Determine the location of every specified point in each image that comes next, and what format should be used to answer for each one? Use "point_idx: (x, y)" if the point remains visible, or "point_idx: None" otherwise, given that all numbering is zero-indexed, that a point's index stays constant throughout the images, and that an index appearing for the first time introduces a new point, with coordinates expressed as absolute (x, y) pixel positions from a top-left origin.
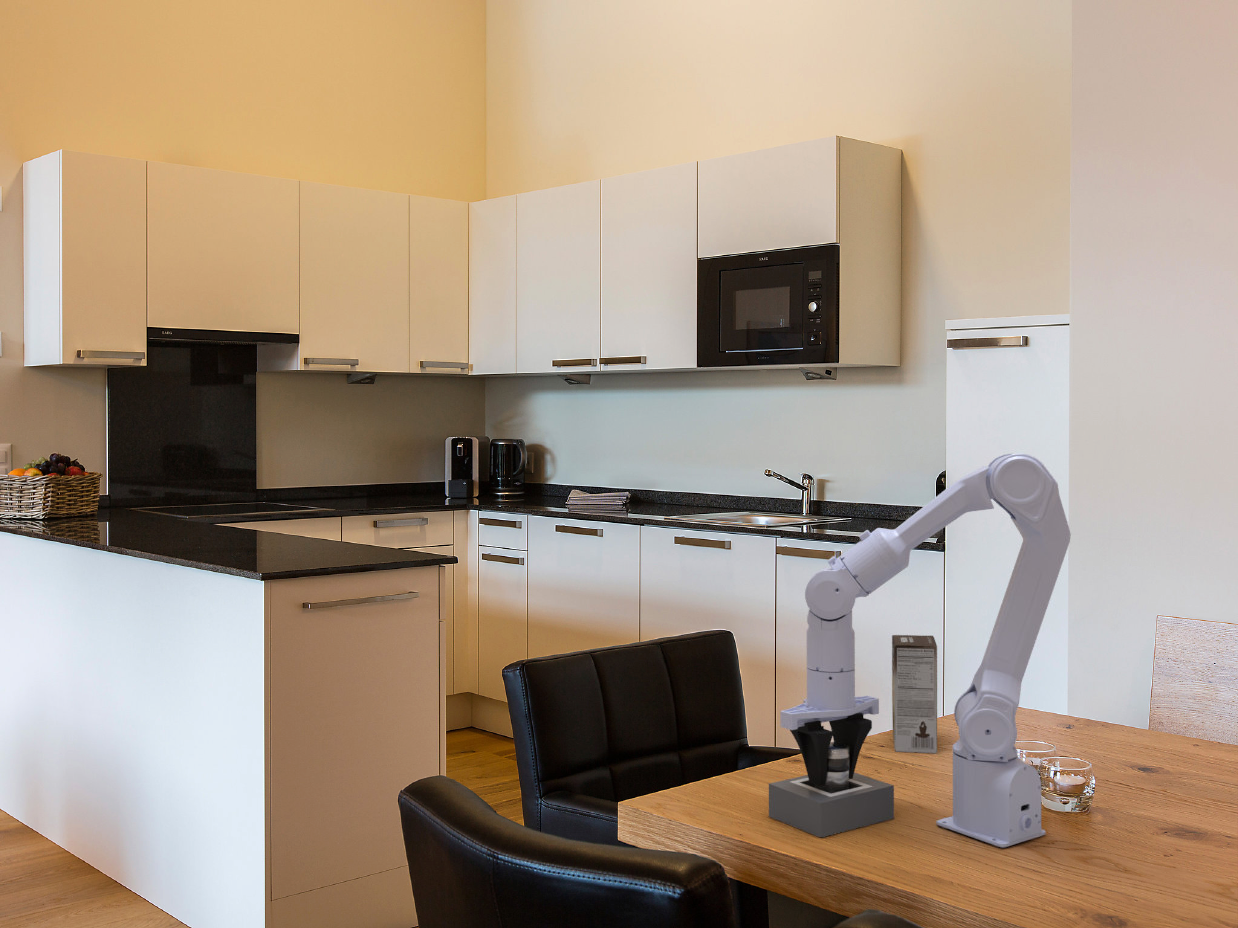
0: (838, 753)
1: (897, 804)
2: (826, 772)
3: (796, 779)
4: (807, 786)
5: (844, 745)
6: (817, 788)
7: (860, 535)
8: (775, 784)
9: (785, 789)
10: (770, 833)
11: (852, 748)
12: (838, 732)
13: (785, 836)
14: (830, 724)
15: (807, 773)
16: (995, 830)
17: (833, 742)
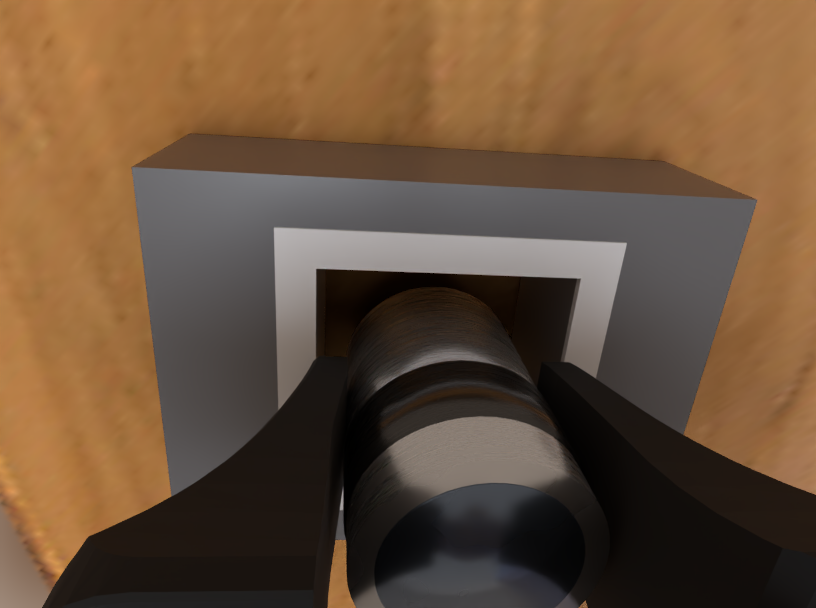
0: None
1: (756, 350)
2: (340, 502)
3: (351, 210)
4: (301, 347)
5: (563, 592)
6: (348, 369)
7: None
8: (162, 206)
9: (155, 311)
10: (60, 300)
11: (593, 599)
12: (671, 566)
13: (99, 357)
14: (731, 529)
15: (306, 374)
16: None
17: (582, 501)
